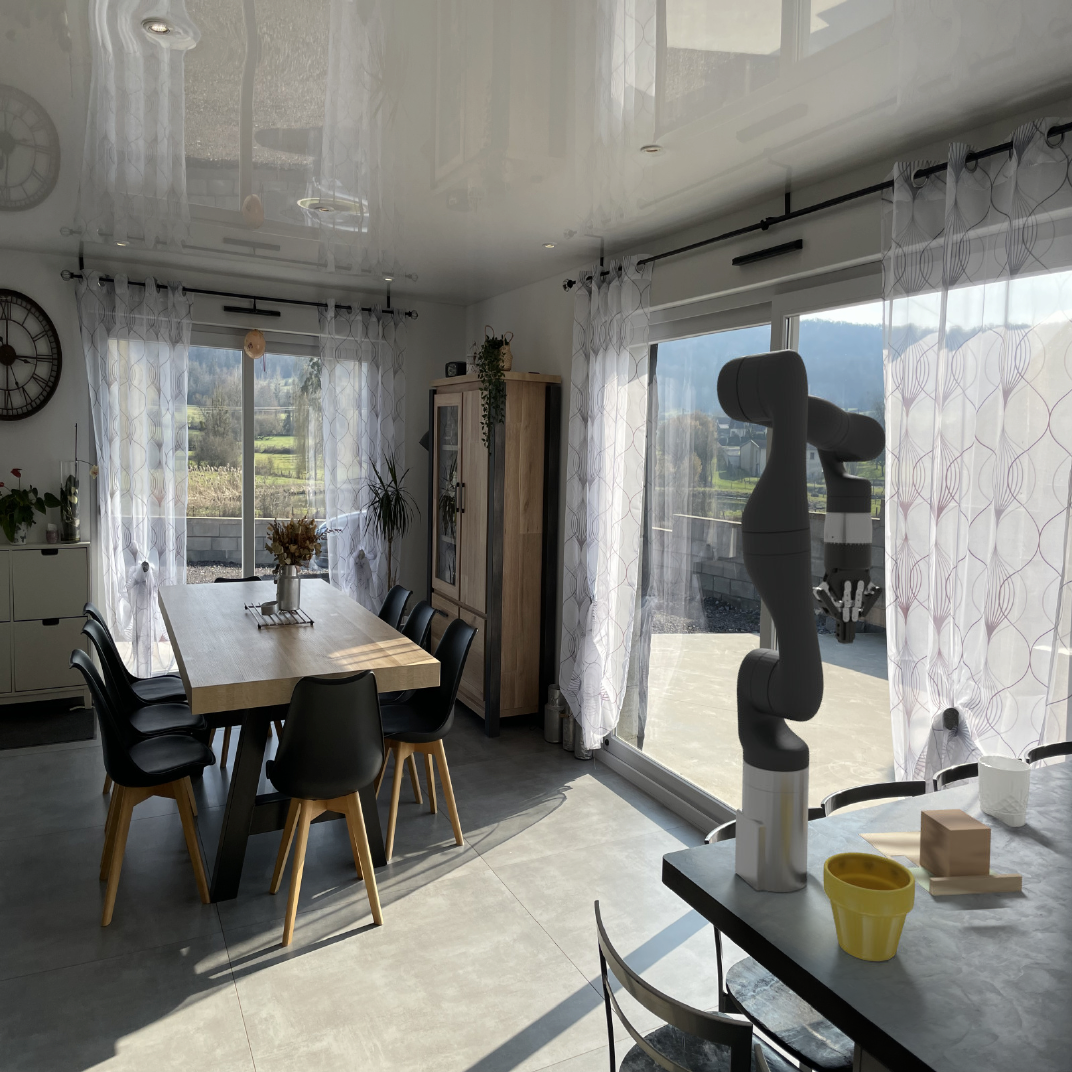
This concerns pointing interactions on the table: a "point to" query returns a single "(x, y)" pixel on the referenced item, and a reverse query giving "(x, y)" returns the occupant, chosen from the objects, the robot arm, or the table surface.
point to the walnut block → (954, 844)
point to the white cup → (1004, 788)
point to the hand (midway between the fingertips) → (845, 642)
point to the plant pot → (868, 902)
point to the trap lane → (910, 848)
